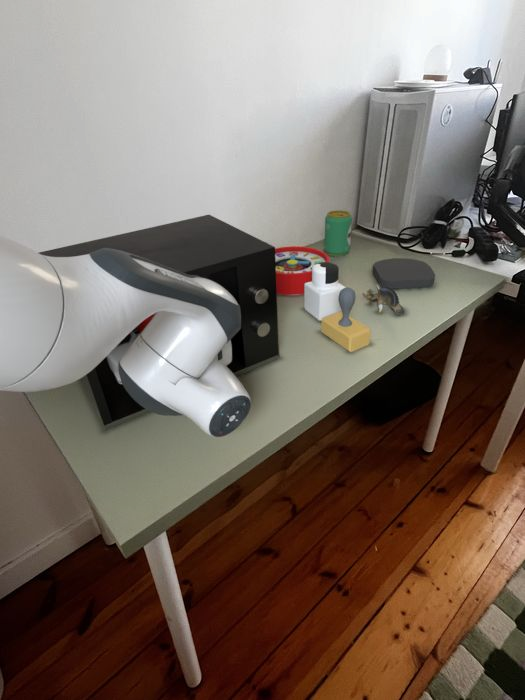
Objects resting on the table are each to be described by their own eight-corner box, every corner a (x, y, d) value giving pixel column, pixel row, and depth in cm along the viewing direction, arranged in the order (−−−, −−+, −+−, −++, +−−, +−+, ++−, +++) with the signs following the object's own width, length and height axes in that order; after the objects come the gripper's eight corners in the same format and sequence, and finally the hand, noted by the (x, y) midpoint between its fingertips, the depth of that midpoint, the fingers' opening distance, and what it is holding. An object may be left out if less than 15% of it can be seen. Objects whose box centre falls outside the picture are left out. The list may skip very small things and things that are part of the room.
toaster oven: (107, 434, 73) (64, 309, 60) (72, 360, 93) (34, 253, 80) (282, 361, 89) (279, 248, 75) (220, 310, 108) (209, 214, 95)
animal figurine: (359, 310, 102) (397, 312, 97) (363, 280, 102) (401, 281, 97) (371, 314, 109) (407, 317, 103) (375, 286, 109) (411, 287, 103)
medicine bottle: (328, 302, 109) (330, 257, 102) (344, 314, 104) (347, 267, 97) (303, 309, 107) (303, 263, 100) (319, 321, 101) (320, 274, 94)
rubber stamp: (320, 332, 97) (321, 283, 90) (340, 324, 100) (343, 276, 93) (349, 352, 90) (353, 301, 83) (370, 343, 92) (375, 293, 86)
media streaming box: (381, 290, 113) (382, 280, 111) (369, 268, 125) (370, 258, 123) (438, 288, 112) (440, 277, 111) (420, 265, 125) (422, 256, 123)
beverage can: (349, 256, 133) (351, 217, 126) (323, 256, 134) (324, 217, 128) (350, 247, 139) (352, 209, 133) (325, 246, 141) (326, 209, 134)
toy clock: (251, 274, 111) (259, 246, 128) (253, 295, 114) (260, 265, 131) (330, 274, 109) (328, 245, 125) (329, 295, 112) (327, 264, 129)
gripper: (125, 403, 67) (101, 361, 77) (240, 358, 75) (205, 326, 85) (115, 370, 63) (91, 331, 73) (237, 326, 72) (201, 297, 82)
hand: (153, 328), depth 79 cm, fingers closed on sauce bottle, 6 cm apart
